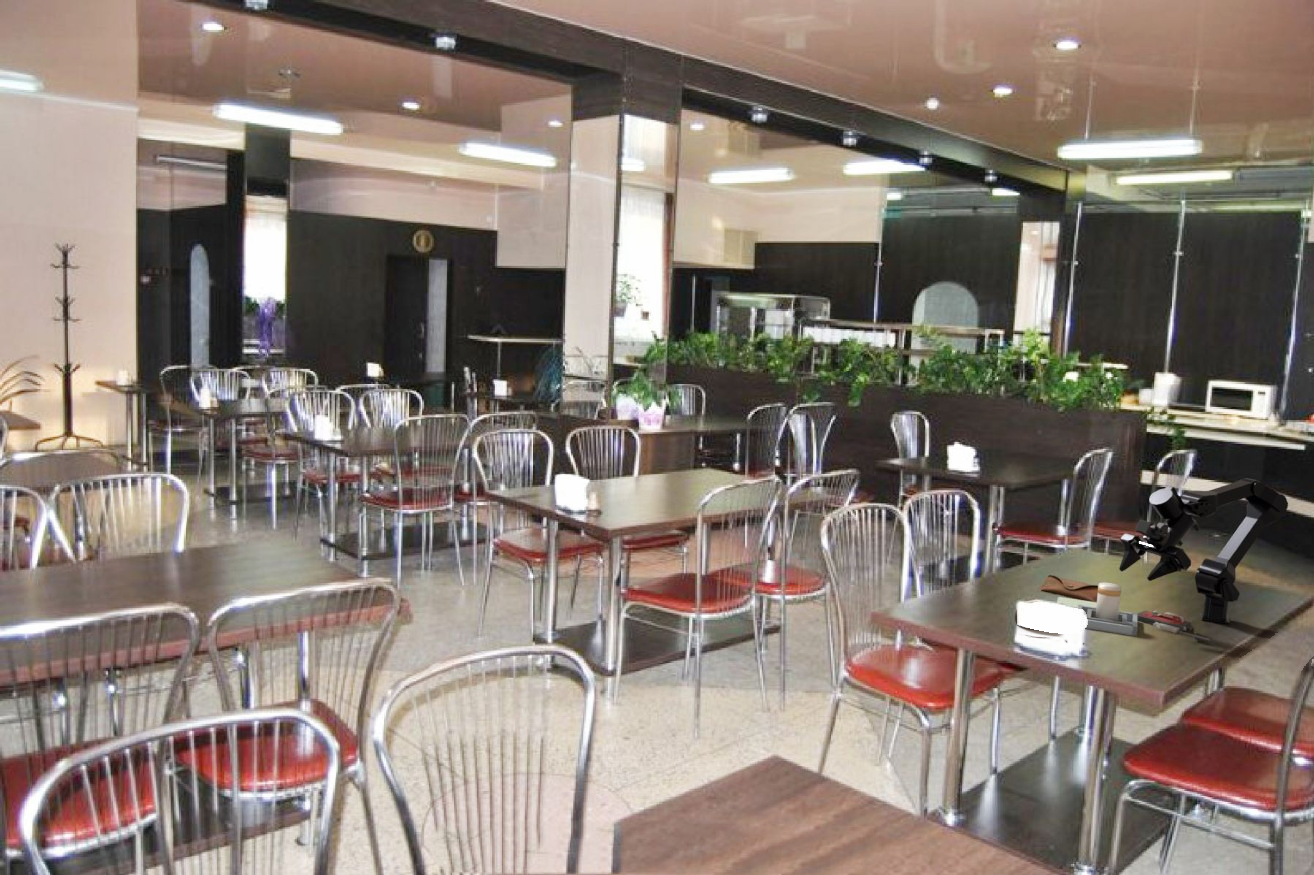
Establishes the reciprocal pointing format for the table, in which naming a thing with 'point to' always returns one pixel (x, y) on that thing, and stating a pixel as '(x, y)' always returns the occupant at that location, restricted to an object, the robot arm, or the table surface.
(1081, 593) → the sunglasses case
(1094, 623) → the grey square tray
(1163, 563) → the robot arm
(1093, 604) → the mat
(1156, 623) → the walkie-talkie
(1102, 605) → the white banded cylinder
